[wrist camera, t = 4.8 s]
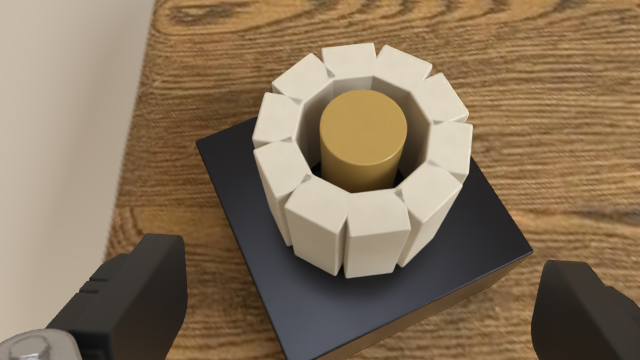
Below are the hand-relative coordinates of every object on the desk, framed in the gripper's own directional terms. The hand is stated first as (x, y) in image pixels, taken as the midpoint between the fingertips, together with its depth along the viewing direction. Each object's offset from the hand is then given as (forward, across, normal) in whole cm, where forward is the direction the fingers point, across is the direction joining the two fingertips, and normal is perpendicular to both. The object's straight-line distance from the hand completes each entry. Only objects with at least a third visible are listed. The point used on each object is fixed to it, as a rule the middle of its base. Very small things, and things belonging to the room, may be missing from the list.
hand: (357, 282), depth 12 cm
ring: (+7, 0, +1) cm, 7 cm away
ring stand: (+11, 0, +4) cm, 12 cm away
